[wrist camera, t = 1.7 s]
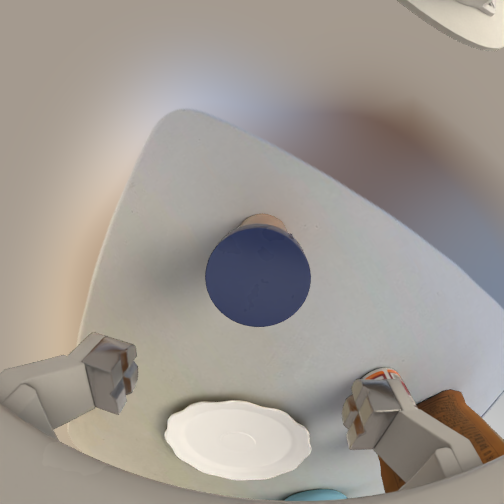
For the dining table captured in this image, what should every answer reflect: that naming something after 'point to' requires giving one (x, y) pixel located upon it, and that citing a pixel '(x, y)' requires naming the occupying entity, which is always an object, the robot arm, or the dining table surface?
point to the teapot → (316, 495)
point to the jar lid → (258, 275)
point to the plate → (237, 439)
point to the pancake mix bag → (460, 420)
